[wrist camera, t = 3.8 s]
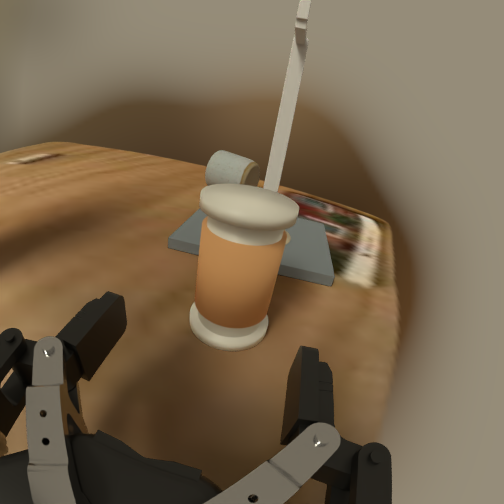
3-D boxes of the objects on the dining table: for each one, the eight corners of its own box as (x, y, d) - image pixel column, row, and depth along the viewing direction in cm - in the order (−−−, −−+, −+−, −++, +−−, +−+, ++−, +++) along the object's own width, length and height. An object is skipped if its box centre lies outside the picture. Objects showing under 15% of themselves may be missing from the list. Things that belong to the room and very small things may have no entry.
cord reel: (178, 337, 19) (185, 201, 14) (202, 292, 24) (216, 178, 20) (260, 359, 18) (299, 226, 14) (270, 308, 24) (299, 196, 19)
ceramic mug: (240, 202, 48) (248, 159, 45) (201, 190, 51) (207, 150, 47) (264, 193, 57) (272, 157, 54) (230, 183, 60) (236, 149, 56)
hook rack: (167, 247, 30) (213, -31, 16) (209, 205, 44) (243, 17, 30) (330, 286, 29) (398, 1, 15) (321, 231, 43) (365, 41, 29)
